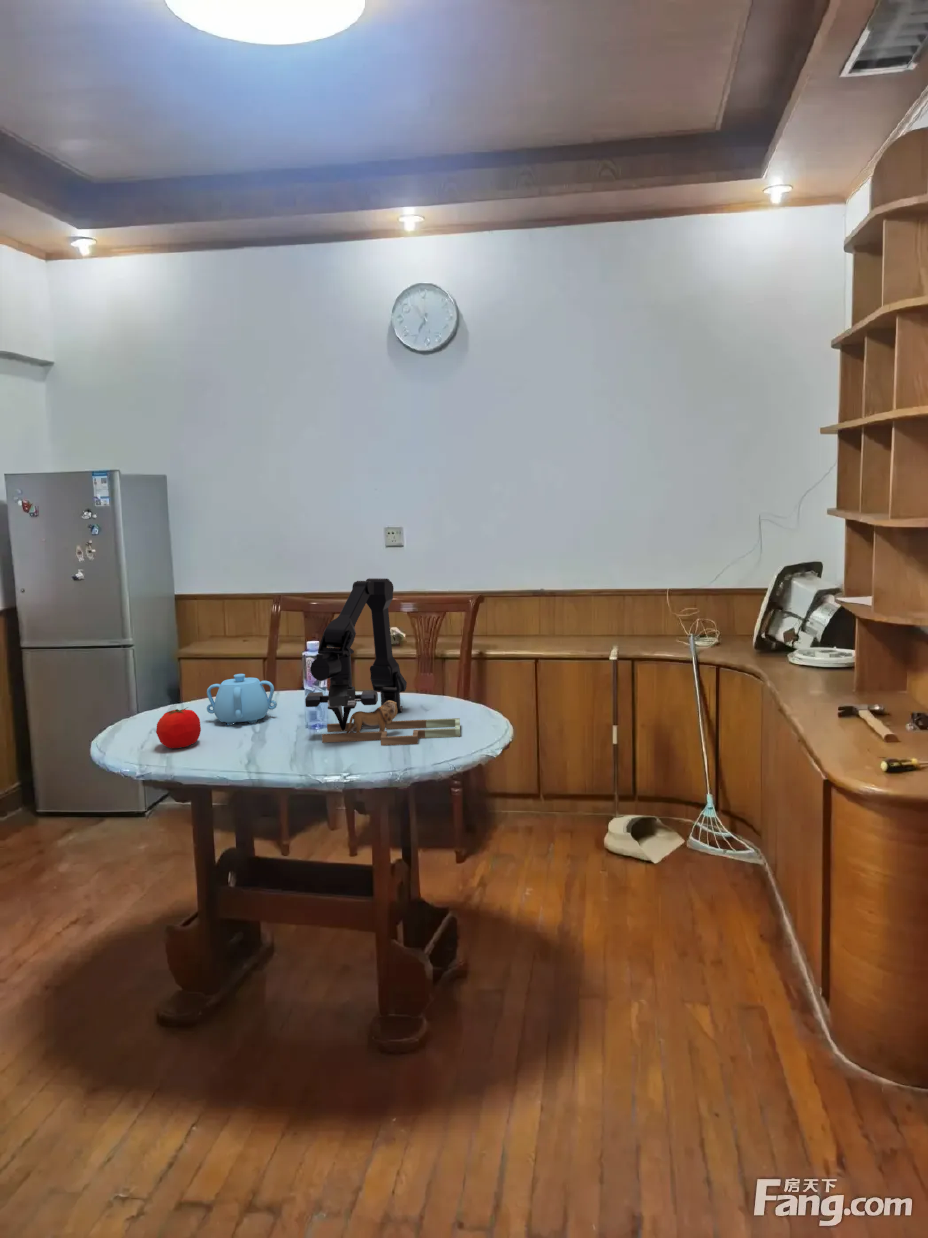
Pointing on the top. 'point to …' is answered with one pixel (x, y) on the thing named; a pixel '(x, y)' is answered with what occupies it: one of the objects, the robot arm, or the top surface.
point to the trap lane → (396, 725)
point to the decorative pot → (241, 700)
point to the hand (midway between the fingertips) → (343, 730)
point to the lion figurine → (374, 717)
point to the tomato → (178, 728)
